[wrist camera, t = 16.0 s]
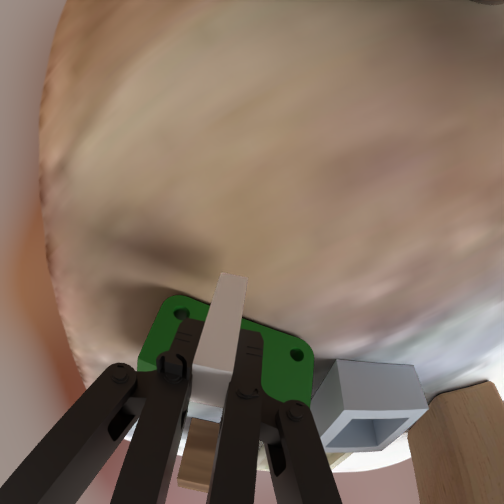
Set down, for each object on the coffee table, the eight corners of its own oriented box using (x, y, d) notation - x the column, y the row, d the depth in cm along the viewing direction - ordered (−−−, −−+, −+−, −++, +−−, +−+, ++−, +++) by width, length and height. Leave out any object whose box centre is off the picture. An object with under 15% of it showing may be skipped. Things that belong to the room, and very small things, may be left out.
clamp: (193, 307, 26) (120, 369, 19) (209, 265, 22) (117, 337, 15) (297, 389, 23) (242, 470, 17) (335, 364, 20) (276, 467, 13)
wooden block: (403, 433, 28) (422, 560, 11) (434, 391, 24) (472, 549, 6) (459, 419, 27) (487, 530, 10) (493, 376, 23) (540, 503, 5)
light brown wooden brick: (192, 417, 28) (177, 478, 21) (227, 425, 28) (217, 486, 21) (191, 431, 30) (177, 486, 23) (223, 438, 30) (213, 493, 23)
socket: (336, 359, 21) (344, 409, 17) (413, 365, 22) (429, 408, 17) (305, 408, 25) (306, 452, 21) (374, 412, 25) (381, 450, 21)
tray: (275, 424, 27) (274, 443, 25) (357, 429, 27) (360, 446, 25) (256, 454, 32) (255, 469, 29) (325, 459, 32) (326, 473, 30)
